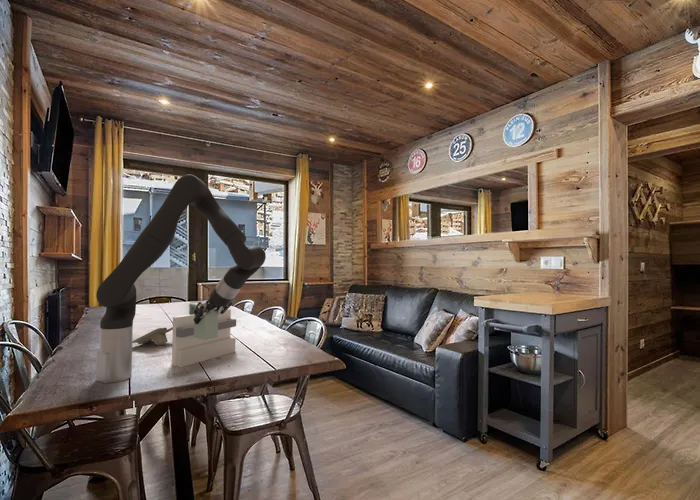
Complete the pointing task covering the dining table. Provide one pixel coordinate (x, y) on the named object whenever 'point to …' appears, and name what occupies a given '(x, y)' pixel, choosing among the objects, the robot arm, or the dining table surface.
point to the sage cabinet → (205, 324)
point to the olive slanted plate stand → (154, 336)
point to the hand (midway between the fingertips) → (202, 321)
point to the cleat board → (200, 340)
